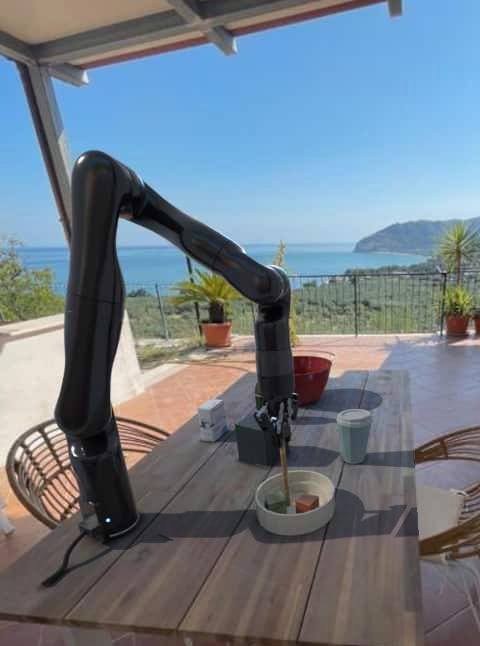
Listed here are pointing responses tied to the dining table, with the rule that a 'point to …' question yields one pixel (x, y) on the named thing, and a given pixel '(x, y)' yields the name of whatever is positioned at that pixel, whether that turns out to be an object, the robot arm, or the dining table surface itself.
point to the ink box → (212, 420)
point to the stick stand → (255, 443)
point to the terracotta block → (306, 503)
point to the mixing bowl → (310, 377)
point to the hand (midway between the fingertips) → (281, 444)
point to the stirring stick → (284, 461)
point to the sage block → (276, 502)
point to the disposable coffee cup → (354, 434)
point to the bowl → (297, 486)
